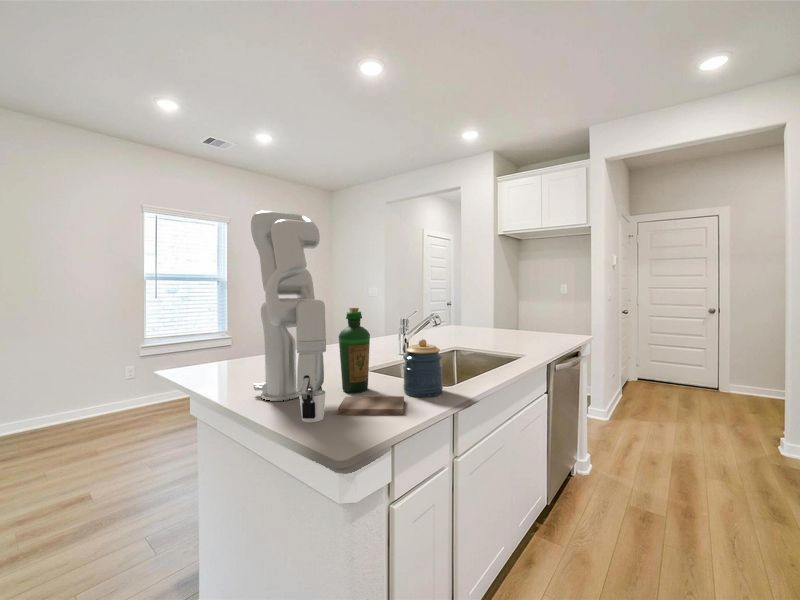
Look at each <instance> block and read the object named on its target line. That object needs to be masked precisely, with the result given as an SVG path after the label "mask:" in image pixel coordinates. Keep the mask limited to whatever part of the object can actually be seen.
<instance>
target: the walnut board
mask: <svg viewBox="0 0 800 600" xmlns="http://www.w3.org/2000/svg"><path fill="white" fill-rule="evenodd" d="M404 409H405V396H403V395H402V396H401V395H400V396H399V395H398V396H397V395H396V396H395V395H394V396H393V395H392V396H382V395H381V396H377V395H376V396H345V397H343V400H342V401H341V402H340V404H339V406H338V407H337V410H336V411H337V412H336V413H337V416H338V415H339V416H341V415H343V416H344V415H346V416H348V415H349V416H353V415H354V416H355V415H356V416H357V415H359V416H360V415H363V416H364V415H367V416H370V415H374V416H375V415H377V416H378V415H379V416H381V415H382V416H383V415H388V416H391V415H395V416H396V415H400V416H401V415H404Z"/></svg>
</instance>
